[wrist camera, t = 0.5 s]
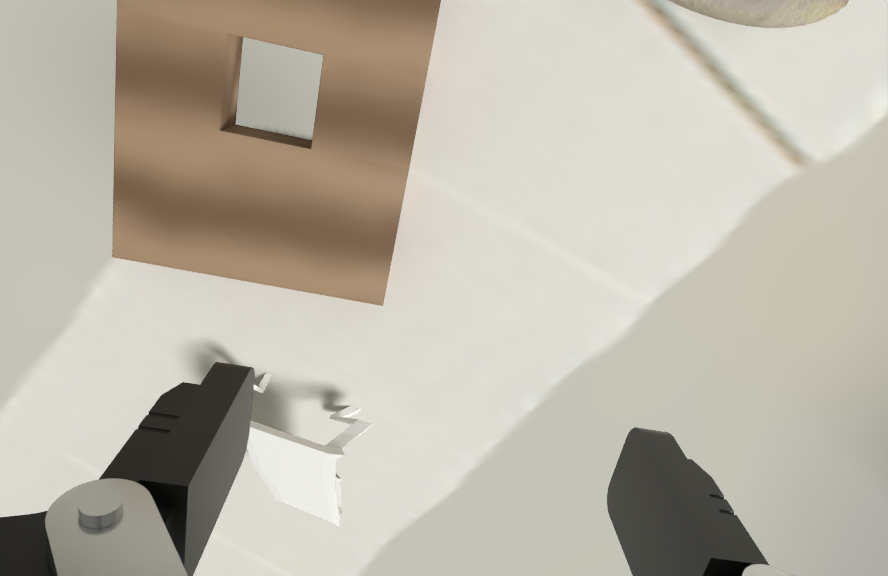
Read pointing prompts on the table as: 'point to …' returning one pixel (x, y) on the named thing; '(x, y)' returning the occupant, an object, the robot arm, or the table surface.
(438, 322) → the table surface
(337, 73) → the wooden board with hole
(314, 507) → the origami figure
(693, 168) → the table surface
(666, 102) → the table surface
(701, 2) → the decorative stone
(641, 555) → the robot arm
